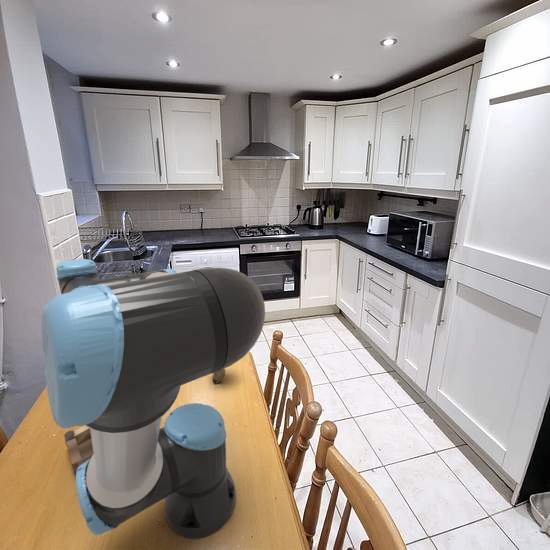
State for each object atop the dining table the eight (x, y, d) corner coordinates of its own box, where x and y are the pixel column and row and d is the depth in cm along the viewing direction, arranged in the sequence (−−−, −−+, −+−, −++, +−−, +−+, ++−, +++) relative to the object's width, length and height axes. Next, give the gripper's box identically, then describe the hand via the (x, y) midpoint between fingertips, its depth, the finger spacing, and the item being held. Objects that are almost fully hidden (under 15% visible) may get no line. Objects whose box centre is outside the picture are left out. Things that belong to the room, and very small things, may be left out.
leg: (68, 449, 81) (65, 438, 80) (65, 444, 83) (62, 434, 82) (119, 421, 91) (117, 411, 90) (116, 417, 92) (114, 407, 91)
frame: (149, 445, 84) (147, 432, 83) (76, 483, 74) (73, 468, 73) (132, 414, 95) (130, 402, 94) (66, 443, 85) (63, 429, 83)
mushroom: (228, 390, 107) (227, 351, 102) (203, 390, 107) (201, 351, 102) (232, 373, 116) (231, 337, 111) (209, 373, 116) (207, 336, 111)
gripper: (114, 335, 69) (127, 421, 76) (96, 309, 82) (108, 385, 89) (75, 346, 64) (93, 436, 72) (62, 317, 77) (78, 396, 84)
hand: (101, 408), depth 80 cm, fingers closed on candy box, 4 cm apart
